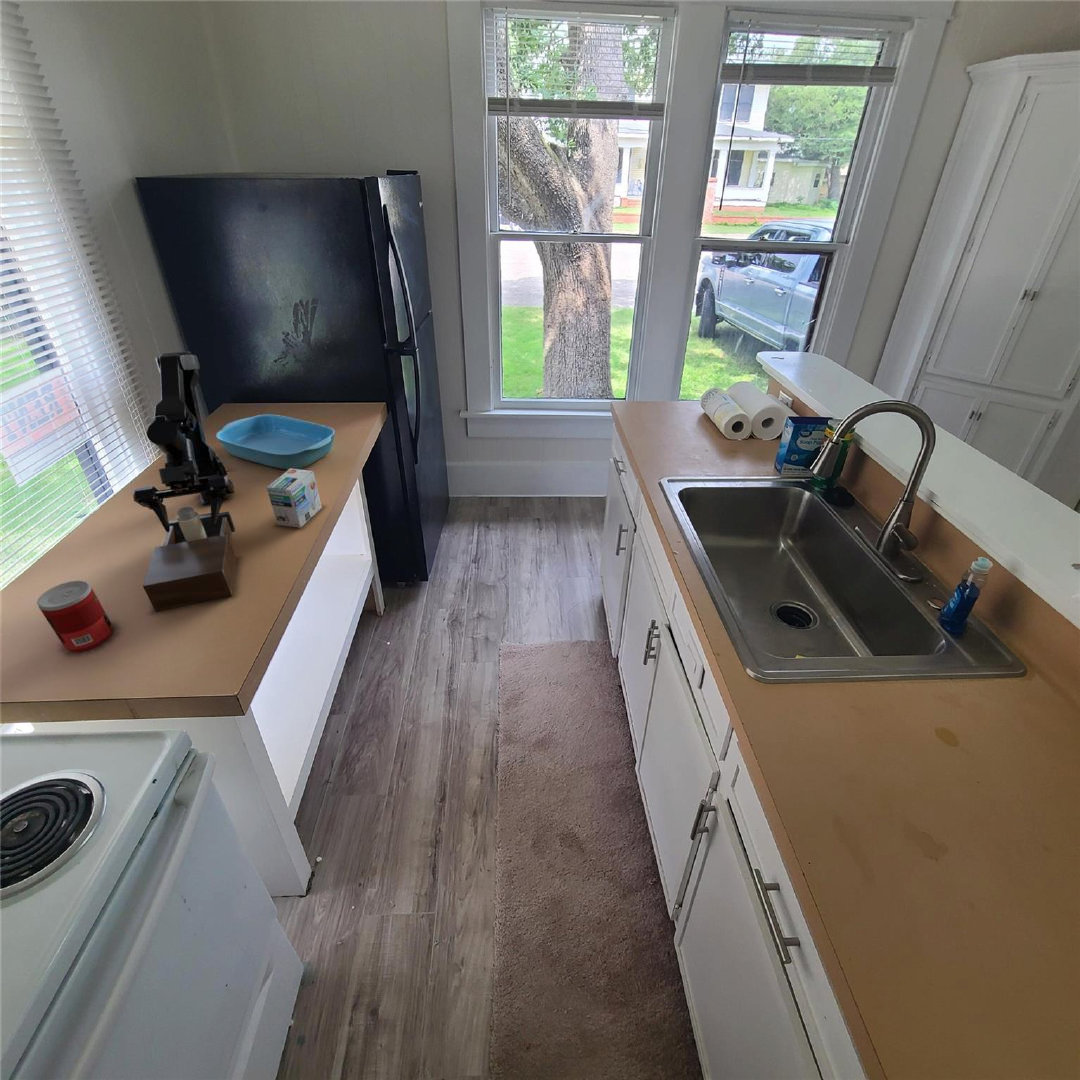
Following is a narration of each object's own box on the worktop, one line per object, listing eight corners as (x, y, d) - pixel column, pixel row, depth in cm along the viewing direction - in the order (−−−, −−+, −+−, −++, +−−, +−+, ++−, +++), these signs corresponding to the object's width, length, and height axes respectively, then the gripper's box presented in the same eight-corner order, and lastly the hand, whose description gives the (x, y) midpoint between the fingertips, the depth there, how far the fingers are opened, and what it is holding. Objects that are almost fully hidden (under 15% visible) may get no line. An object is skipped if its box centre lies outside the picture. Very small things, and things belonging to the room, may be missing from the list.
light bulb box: (301, 528, 142) (290, 490, 136) (276, 525, 143) (264, 487, 137) (323, 506, 150) (314, 470, 144) (299, 504, 151) (289, 467, 145)
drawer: (178, 530, 139) (170, 512, 137) (236, 520, 143) (230, 503, 140) (167, 571, 126) (158, 552, 123) (231, 559, 130) (225, 540, 127)
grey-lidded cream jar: (190, 547, 132) (173, 508, 126) (210, 542, 133) (195, 503, 128) (191, 556, 129) (174, 517, 123) (212, 551, 130) (196, 512, 125)
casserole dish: (353, 449, 179) (349, 428, 175) (301, 480, 162) (295, 458, 158) (264, 430, 191) (258, 409, 187) (207, 456, 175) (200, 435, 171)
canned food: (124, 629, 112) (99, 584, 106) (85, 657, 106) (57, 612, 99) (95, 620, 114) (69, 576, 108) (55, 647, 108) (25, 602, 101)
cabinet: (166, 571, 127) (154, 547, 123) (236, 558, 131) (227, 534, 127) (155, 612, 116) (142, 586, 112) (232, 596, 120) (222, 570, 116)
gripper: (117, 455, 119) (127, 527, 117) (216, 442, 125) (227, 510, 122) (139, 473, 130) (148, 539, 127) (229, 460, 135) (240, 523, 133)
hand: (191, 527), depth 127 cm, fingers open, 9 cm apart
